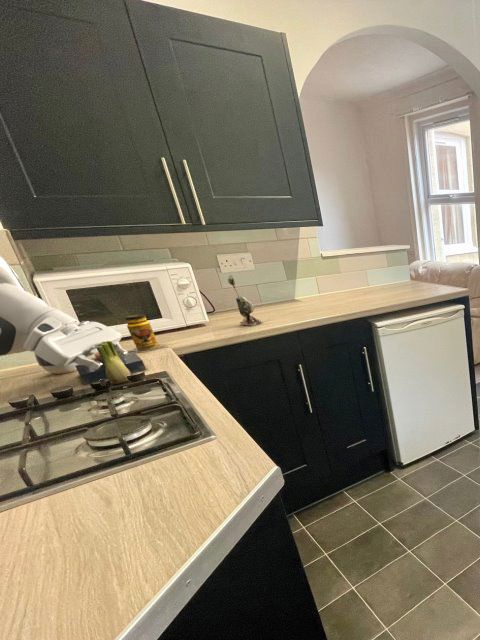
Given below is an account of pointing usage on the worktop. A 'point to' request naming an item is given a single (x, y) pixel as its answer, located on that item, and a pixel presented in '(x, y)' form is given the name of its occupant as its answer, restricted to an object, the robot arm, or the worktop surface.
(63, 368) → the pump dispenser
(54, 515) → the worktop surface
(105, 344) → the fennel bulb
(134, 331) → the condiment
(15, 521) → the worktop surface
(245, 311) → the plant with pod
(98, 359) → the jug button
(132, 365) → the blue jug base
